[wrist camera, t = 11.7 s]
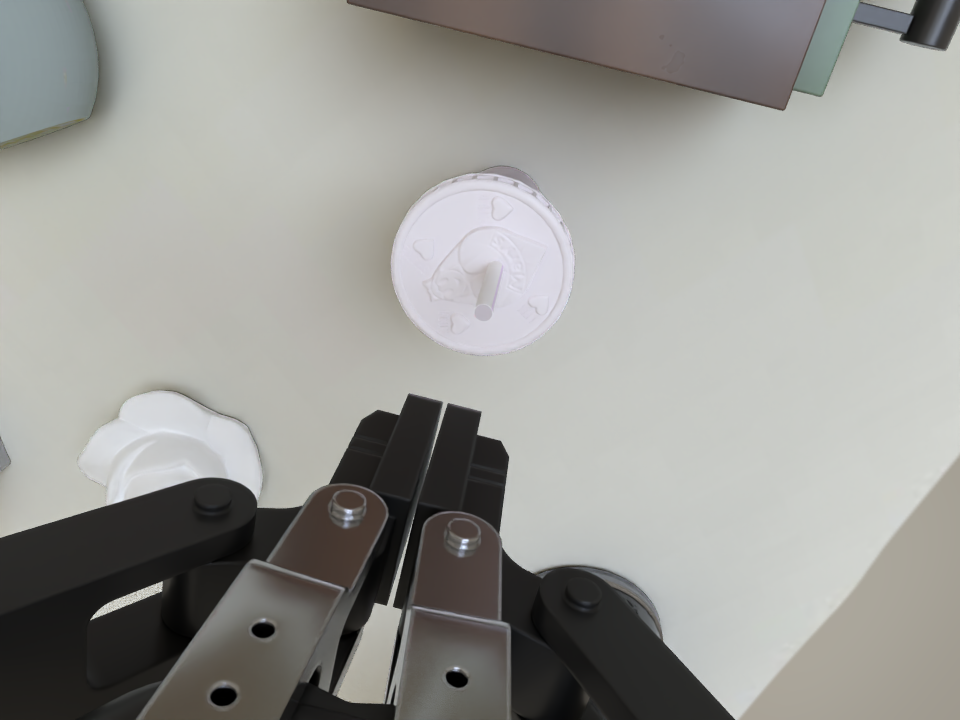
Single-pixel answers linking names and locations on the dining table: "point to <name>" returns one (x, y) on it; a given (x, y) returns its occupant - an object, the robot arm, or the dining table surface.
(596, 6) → the cabinet
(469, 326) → the smoothie
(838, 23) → the drawer
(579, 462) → the dining table surface
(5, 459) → the lighter
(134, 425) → the rose
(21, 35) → the air freshener
